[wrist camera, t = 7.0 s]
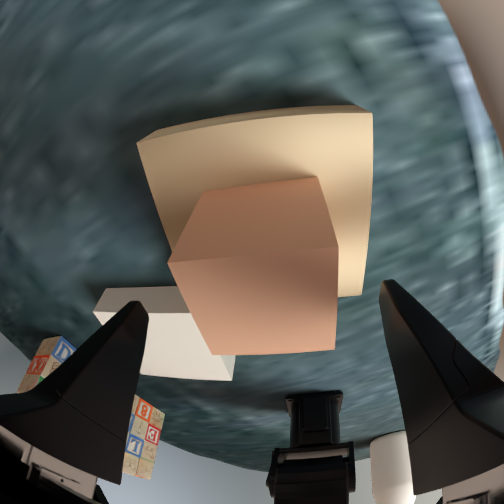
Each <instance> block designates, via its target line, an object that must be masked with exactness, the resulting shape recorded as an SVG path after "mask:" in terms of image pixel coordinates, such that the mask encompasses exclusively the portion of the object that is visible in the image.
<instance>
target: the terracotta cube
mask: <svg viewBox="0 0 504 504" xmlns="http://www.w3.org/2000/svg"><path fill="white" fill-rule="evenodd" d="M167 264H168V266H169V268H170V270H171V272H172V275H173V277H174V279H175V281H176V283H177V286H178V288H179V290H180V292H181V294H182V296H183V298H184V300H185V302H186V305H187V307H188V309H189V311H190V313H191V315H192V317H193V319H194V321H195V323H196V325H197V327H198V329H199V331H200V333H201V335H202V337H203V338H204V340H205V342H206V344H207V346H208V348H209V350H210V352H211V354H212V355H259V354H282V353H298V352H311V351H323V350H333V349H335V337H336V322H337V302H338V265H339V246H338V242H337V239H336V235H335V232H334V228H333V225H332V221H331V218H330V214H329V211H328V208H327V204H326V201H325V198H324V195H323V192H322V188H321V185H320V182H319V179H318V177H311V178H301V179H292V180H283V181H274V182H266V183H258V184H251V185H243V186H236V187H229V188H223V189H216V190H210V191H204V192H203V194H202V195H201V197H200V199H199V201H198V203H197V205H196V207H195V209H194V210H193V212H192V214H191V216H190V218H189V220H188V222H187V224H186V226H185V228H184V230H183V232H182V234H181V236H180V238H179V240H178V242H177V244H176V246H175V248H174V250H173V252H172V254H171V256H170V258H169V260H168V262H167Z"/></svg>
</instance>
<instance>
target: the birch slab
mask: <svg viewBox="0 0 504 504" xmlns="http://www.w3.org/2000/svg"><path fill="white" fill-rule="evenodd" d="M137 147H138V150H139V154H140V157H141V161H142V164H143V167H144V171H145V174H146V177H147V180H148V183H149V186H150V190H151V193H152V196H153V199H154V202H155V205H156V208H157V211H158V214H159V217H160V219H161V222H162V225H163V228H164V231H165V234H166V236H167V239H168V242H169V245H170V247H171V250H172V252H173V250H174V248H175V246H176V244H177V242H178V240H179V238H180V236H181V234H182V232H183V230H184V228H185V226H186V224H187V222H188V220H189V218H190V216H191V214H192V212H193V210H194V209H195V207H196V205H197V203H198V201H199V199H200V197H201V195H202V194H203V192H204V191H210V190H216V189H223V188H229V187H236V186H243V185H251V184H258V183H266V182H274V181H283V180H292V179H301V178H311V177H318V179H319V182H320V185H321V188H322V192H323V195H324V198H325V201H326V204H327V208H328V211H329V214H330V218H331V221H332V225H333V228H334V232H335V235H336V239H337V242H338V246H339V265H338V297H344V296H354V295H361V293H362V286H363V279H364V272H365V264H366V256H367V247H368V237H369V226H370V214H371V198H372V175H373V118H372V113H371V112H369V111H367V110H365V109H363V108H361V107H359V106H357V105H328V106H307V107H292V108H281V109H271V110H262V111H254V112H246V113H239V114H232V115H226V116H220V117H214V118H209V119H203V120H198V121H193V122H189V123H184V124H179V125H175V126H171V127H166V128H162V129H158V130H156V131H154V132H153V133H151V134H150V135H148V136H146V137H145V138H143V139H142V140H140V141H139V142H137Z"/></svg>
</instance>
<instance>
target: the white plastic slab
mask: <svg viewBox="0 0 504 504" xmlns="http://www.w3.org/2000/svg"><path fill="white" fill-rule="evenodd" d="M129 301H140V302H141V303H142V305H143V306H144V308H145V310H146V311H147V313H148V315H149V324H148V330H147V337H146V344H145V351H144V356H143V361H142V365H141V369H140V373H141V374H145V375H153V376H162V377H173V378H185V379H201V380H224V381H232V377H233V370H234V363H235V355H212V354H211V352H210V350H209V348H208V346H207V344H206V342H205V340H204V338H203V337H202V335H201V333H200V331H199V329H198V327H197V325H196V323H195V321H194V319H193V317H192V315H191V313H190V311H189V309H188V307H187V305H186V302H185V300H184V298H183V296H182V294H181V292H180V290H179V288H178V286H165V287H134V288H106V289H105V291H104V293H103V295H102V296H101V298H100V300H99V301H98V303H97V305H96V307H95V309H94V310H93V313H94V314H95V315H96V317H97V318H98V320H99V321H100V322H101V324H102V325H104V324H105V323H106V322H107V321H108V320H109V319H110V318H111V317H113V316H114V315H115V314H116V313H117V312H118V311H119V310H120V309H121V308H123V307H124V306H125V305H126V304H127V303H128V302H129Z"/></svg>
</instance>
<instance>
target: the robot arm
mask: <svg viewBox="0 0 504 504" xmlns="http://www.w3.org/2000/svg"><path fill="white" fill-rule="evenodd" d="M379 304H380V310H381V315H382V321H383V327H384V334H385V340H386V344H387V348H388V352H389V356H390V360H391V364H392V368H393V372H394V376H395V381H396V385H397V389H398V394H399V399H400V404H401V409H402V414H403V419H404V425H405V430H406V436H407V443H408V450H409V458H410V466H411V474H412V484H413V494H414V496H415V495H419V494H423V493H427V492H430V491H434V490H437V489H441V488H442V495H443V496H442V497H441V498H440V499H439V501H438V502H437V503H436V504H504V382H503V381H502V380H501V379H500V378H498V377H497V376H496V375H495V374H494V373H493V372H492V371H490V370H489V369H488V368H487V367H486V366H485V365H484V364H482V363H481V362H480V361H479V360H478V359H477V358H476V357H475V356H473V355H472V354H471V353H470V352H469V351H468V350H467V349H466V348H465V347H464V346H463V345H462V344H461V343H460V342H459V341H458V340H456V338H455V337H454V336H453V335H452V334H451V333H450V332H449V331H448V330H447V329H446V328H445V327H444V326H443V325H442V324H441V323H440V322H439V321H438V320H437V319H436V318H435V317H434V316H433V315H432V314H431V313H430V312H429V311H428V310H427V309H426V308H424V307H423V306H422V305H421V304H420V303H419V302H418V301H417V300H416V299H415V298H414V297H413V296H411V295H410V294H409V293H408V292H407V291H406V290H405V289H404V288H403V287H402V286H400V285H399V284H398V283H397V282H396V281H395V280H393V279H390V280H383V281H382V283H381V289H380V295H379ZM148 324H149V315H148V313H147V311H146V310H145V308H144V306H143V305H142V303H141V302H140V301H129V302H128V303H127V304H126V305H125V306H124V307H123V308H121V309H120V310H119V311H118V312H117V313H116V314H115V315H114V316H113V317H111V318H110V319H109V320H108V321H107V322H106V323H105V324H104V325H103V326H101V327H100V328H99V329H98V330H97V331H96V332H95V333H94V334H93V335H92V336H91V337H90V338H88V339H87V340H86V341H85V342H84V343H83V344H82V345H81V346H80V347H79V348H78V349H77V350H76V351H75V352H73V353H72V355H70V356H69V357H68V358H67V359H66V360H65V361H64V362H63V363H62V364H61V365H60V366H59V367H57V368H56V369H55V370H54V371H53V372H52V373H50V374H49V375H48V376H47V377H46V378H44V379H43V380H42V381H41V382H40V383H38V384H37V385H36V386H35V387H34V388H32V389H31V390H29V391H27V392H23V393H15V394H4V395H0V504H109V503H108V501H107V499H106V497H105V496H104V494H103V492H102V490H101V488H100V486H99V485H97V484H96V483H97V479H98V477H99V478H101V479H104V480H107V481H109V482H112V483H115V484H118V485H120V484H121V478H122V470H123V462H124V455H125V449H126V441H127V435H128V429H129V424H130V418H131V413H132V407H133V402H134V397H135V392H136V388H137V383H138V378H139V374H140V369H141V365H142V361H143V356H144V351H145V344H146V337H147V330H148ZM342 399H343V392H331V393H321V394H310V395H295V396H287V397H286V405H287V409H288V413H289V416H290V417H291V429H290V448H275V450H274V451H272V462H271V467H270V470H269V473H268V477H267V480H266V486H267V487H268V488H269V490H270V495H271V497H273V498H274V504H349V503H348V502H349V493H351V492H355V485H356V484H355V483H356V479H355V478H356V477H355V460H354V448H353V441H349V442H348V443H340V426H339V413H340V409H341V404H342ZM342 455H347V457H345V458H342Z"/></svg>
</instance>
